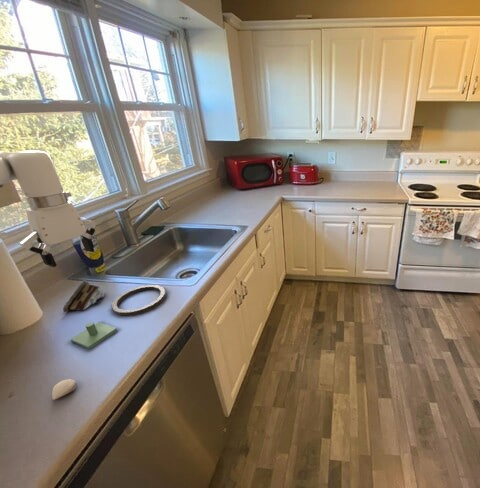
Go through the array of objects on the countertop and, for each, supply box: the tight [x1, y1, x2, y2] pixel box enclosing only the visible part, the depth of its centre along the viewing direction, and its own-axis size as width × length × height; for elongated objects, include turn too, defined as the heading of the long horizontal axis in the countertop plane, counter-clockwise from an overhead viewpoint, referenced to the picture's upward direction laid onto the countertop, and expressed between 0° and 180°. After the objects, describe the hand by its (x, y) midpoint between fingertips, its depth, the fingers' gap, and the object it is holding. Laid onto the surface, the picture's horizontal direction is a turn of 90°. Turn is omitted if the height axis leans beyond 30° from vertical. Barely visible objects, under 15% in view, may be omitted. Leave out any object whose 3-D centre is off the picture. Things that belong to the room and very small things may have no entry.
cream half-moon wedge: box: [51, 378, 77, 400], centre depth 66 cm, size 4×5×2 cm
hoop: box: [111, 284, 167, 317], centre depth 99 cm, size 16×16×1 cm
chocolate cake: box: [62, 277, 105, 313], centre depth 98 cm, size 10×7×12 cm
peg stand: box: [70, 321, 118, 350], centre depth 82 cm, size 8×8×4 cm
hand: (72, 258), depth 81 cm, fingers open, 9 cm apart
